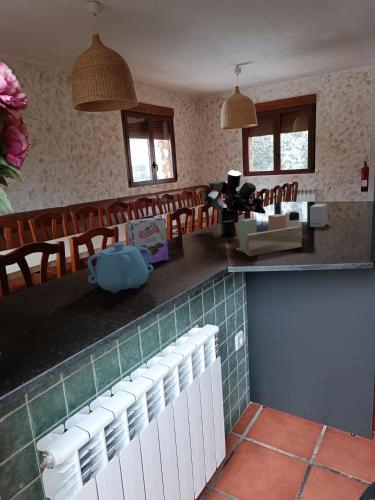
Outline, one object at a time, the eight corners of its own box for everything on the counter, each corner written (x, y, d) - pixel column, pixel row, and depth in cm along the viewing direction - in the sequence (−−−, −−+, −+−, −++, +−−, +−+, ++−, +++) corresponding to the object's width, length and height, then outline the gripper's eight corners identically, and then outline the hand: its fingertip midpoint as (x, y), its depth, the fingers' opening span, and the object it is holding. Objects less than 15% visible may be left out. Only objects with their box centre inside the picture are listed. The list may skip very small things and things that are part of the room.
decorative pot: (127, 299, 97) (122, 251, 93) (84, 292, 104) (78, 248, 101) (159, 280, 111) (155, 238, 107) (119, 276, 118) (115, 236, 115)
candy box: (135, 266, 128) (130, 222, 124) (130, 263, 133) (125, 220, 129) (169, 260, 134) (166, 217, 130) (163, 257, 139) (159, 216, 135)
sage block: (239, 248, 143) (238, 219, 140) (250, 246, 144) (249, 218, 142) (246, 251, 138) (245, 221, 135) (257, 249, 140) (256, 219, 137)
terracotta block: (268, 243, 148) (268, 215, 145) (278, 242, 149) (278, 214, 147) (275, 245, 143) (275, 216, 140) (285, 244, 145) (285, 215, 142)
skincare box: (315, 223, 187) (315, 203, 185) (327, 223, 184) (328, 203, 181) (309, 226, 179) (309, 206, 177) (322, 227, 175) (322, 206, 173)
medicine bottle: (298, 236, 157) (298, 210, 155) (302, 240, 151) (302, 212, 148) (282, 237, 158) (282, 211, 155) (285, 241, 151) (284, 213, 148)
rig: (233, 249, 142) (233, 230, 140) (282, 241, 151) (282, 223, 149) (250, 256, 131) (249, 235, 129) (301, 246, 140) (301, 226, 138)
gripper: (226, 177, 149) (248, 192, 138) (257, 182, 159) (280, 196, 149) (217, 201, 153) (238, 217, 143) (248, 204, 164) (269, 219, 153)
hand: (257, 212), depth 147 cm, fingers open, 9 cm apart
